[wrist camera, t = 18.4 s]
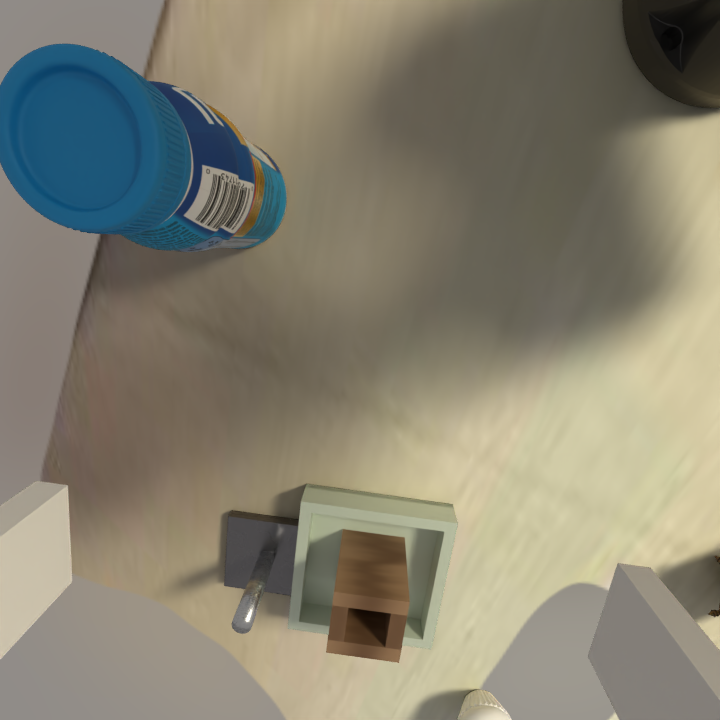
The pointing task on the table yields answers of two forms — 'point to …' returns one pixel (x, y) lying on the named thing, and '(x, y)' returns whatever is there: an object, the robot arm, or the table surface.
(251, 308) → the table surface
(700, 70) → the robot arm
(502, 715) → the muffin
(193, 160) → the beverage bottle
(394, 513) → the tray
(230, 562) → the pin
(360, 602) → the bore block
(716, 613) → the game die
